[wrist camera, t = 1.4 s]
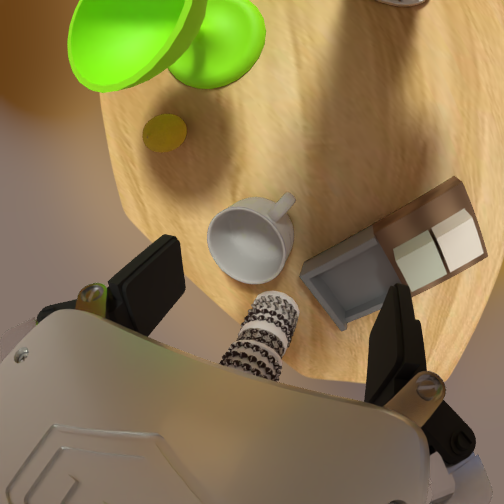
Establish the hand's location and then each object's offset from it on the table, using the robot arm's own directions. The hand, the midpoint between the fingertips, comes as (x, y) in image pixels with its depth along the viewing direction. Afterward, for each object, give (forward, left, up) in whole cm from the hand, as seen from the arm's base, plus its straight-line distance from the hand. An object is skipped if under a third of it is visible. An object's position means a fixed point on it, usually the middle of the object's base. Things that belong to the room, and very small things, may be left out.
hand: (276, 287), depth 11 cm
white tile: (-10, +16, -24) cm, 31 cm away
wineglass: (+1, -24, -27) cm, 36 cm away
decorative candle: (+22, +16, -27) cm, 38 cm away
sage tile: (-4, +16, -24) cm, 29 cm away
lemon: (+14, -17, -27) cm, 35 cm away
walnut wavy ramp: (-7, +16, -27) cm, 32 cm away
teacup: (+12, +2, -27) cm, 30 cm away
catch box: (+6, +16, -27) cm, 32 cm away
